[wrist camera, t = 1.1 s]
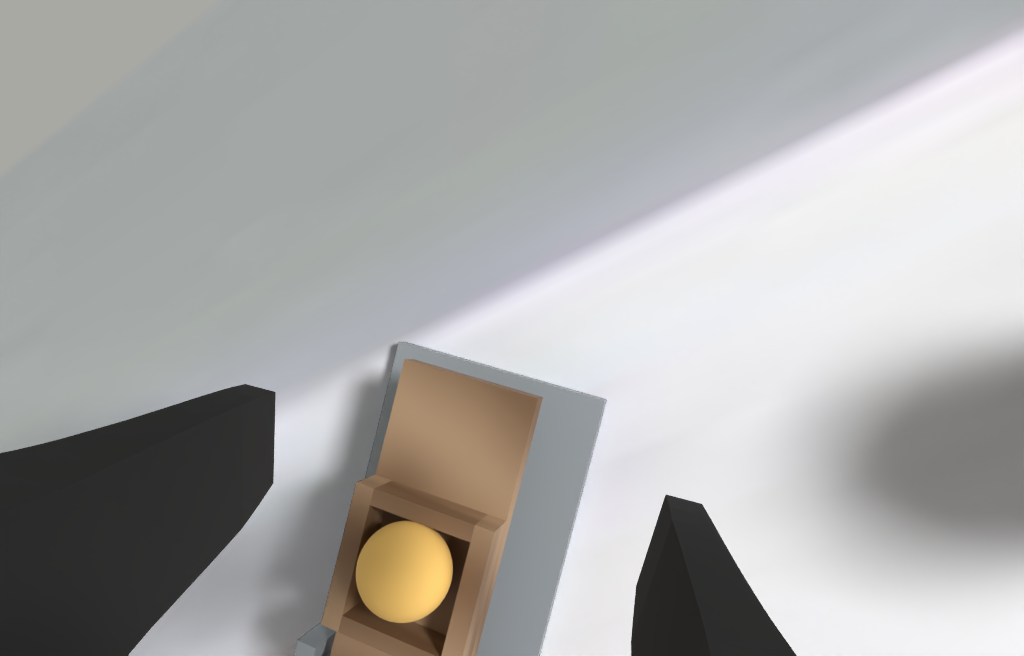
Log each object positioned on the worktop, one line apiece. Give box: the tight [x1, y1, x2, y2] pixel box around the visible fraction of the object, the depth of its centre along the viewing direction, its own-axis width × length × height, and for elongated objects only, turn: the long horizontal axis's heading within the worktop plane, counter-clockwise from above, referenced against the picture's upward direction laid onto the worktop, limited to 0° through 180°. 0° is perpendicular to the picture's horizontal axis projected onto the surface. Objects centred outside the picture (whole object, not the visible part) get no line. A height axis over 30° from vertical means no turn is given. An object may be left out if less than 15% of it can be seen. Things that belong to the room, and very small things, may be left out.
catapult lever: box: [321, 359, 543, 656], centre depth 22 cm, size 14×6×2 cm, turn 165°
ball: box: [356, 521, 453, 623], centre depth 21 cm, size 3×3×3 cm
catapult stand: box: [294, 342, 606, 656], centre depth 24 cm, size 14×9×4 cm, turn 165°
